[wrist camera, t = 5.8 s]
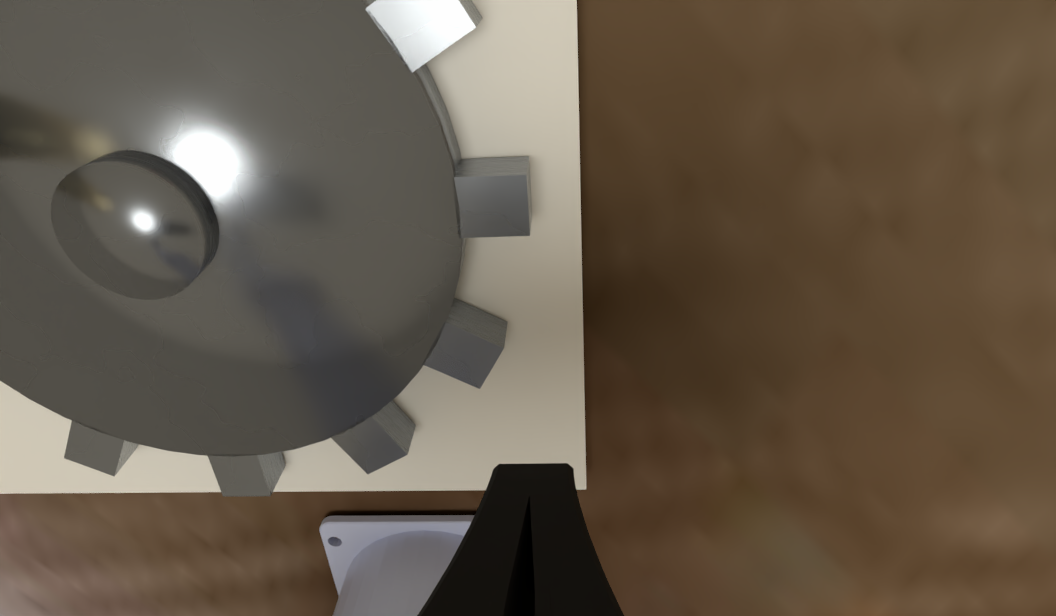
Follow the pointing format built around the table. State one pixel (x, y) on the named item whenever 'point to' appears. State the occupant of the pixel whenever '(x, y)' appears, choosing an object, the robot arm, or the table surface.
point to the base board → (485, 282)
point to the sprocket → (238, 225)
